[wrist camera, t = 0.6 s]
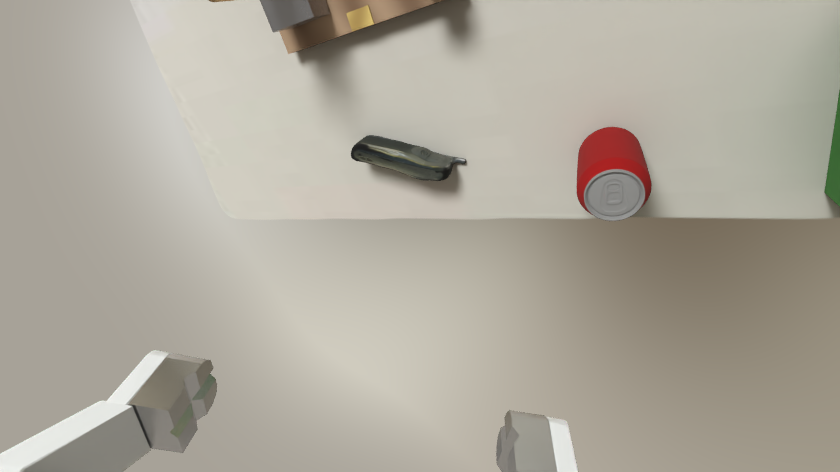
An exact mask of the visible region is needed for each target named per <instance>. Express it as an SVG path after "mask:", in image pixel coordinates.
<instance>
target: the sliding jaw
mask: <svg viewBox="0 0 840 472" xmlns="http://www.w3.org/2000/svg"><path fill="white" fill-rule="evenodd" d="M209 1H211V2H220V1H232V0H209ZM260 1H261V4H262V6H263V9H264V11H265V14H266V16H267V19H268V21H269V23H270V26H271V28H272V31H273V32H278V31H283V30H288V29H292V28H295V27H297V26H300V25H303V24H305V23H308V22H311V21H313V20H316V19H318V18H321V17H324V16H326V15H329V14H330V12H329V9H328V6H327V3H326V0H260Z"/></svg>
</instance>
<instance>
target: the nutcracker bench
mask: <svg viewBox="0 0 840 472" xmlns="http://www.w3.org/2000/svg"><path fill="white" fill-rule="evenodd" d="M441 1H444V0H326V3H327V6H328V9H329V12H330V14H329V15H326V16H324V17H321V18H318V19H316V20H313V21H311V22H308V23H305V24H303V25H300V26H297V27H295V28H292V29H288V30H283V31H280V34H281V36H282V39H283V41H284V44H285V46H286V49H287V51H288V54H290V53H293V52H297V51H300V50H303V49H305V48H308V47H311V46H314V45H317V44H320V43H323V42H326V41H328V40H331V39H334V38H337V37H340V36H343V35H346V34H349V33H352V32H354V31H357V30H360V29H363V28H366V27H369V26H372V25H375V24H377V23H380V22H383V21H386V20H389V19H392V18H395V17H398V16H401V15H403V14H406V13H409V12H412V11H415V10H418V9H421V8H424V7H426V6H429V5H432V4H435V3H438V2H441Z"/></svg>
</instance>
